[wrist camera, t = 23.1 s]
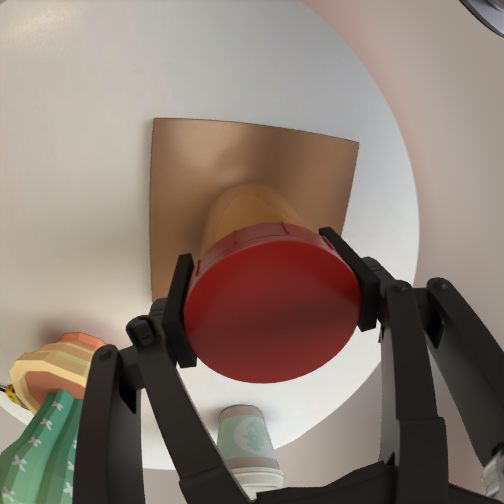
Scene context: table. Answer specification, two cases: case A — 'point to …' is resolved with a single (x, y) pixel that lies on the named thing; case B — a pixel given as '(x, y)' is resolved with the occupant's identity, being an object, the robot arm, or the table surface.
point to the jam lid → (270, 303)
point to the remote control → (13, 396)
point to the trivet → (237, 180)
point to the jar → (245, 211)
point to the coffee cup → (249, 449)
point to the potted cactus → (47, 421)
